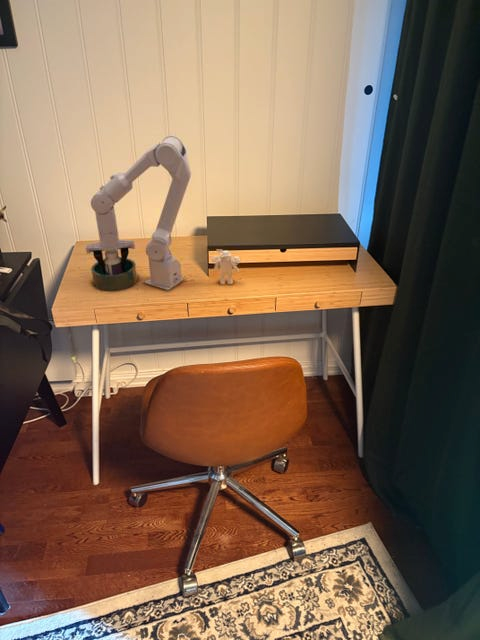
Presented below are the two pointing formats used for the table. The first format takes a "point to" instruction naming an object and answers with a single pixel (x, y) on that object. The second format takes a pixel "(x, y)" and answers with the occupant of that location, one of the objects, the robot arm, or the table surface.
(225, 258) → the blocky character figurine
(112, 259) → the pill bottle
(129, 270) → the pot
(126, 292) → the table surface
